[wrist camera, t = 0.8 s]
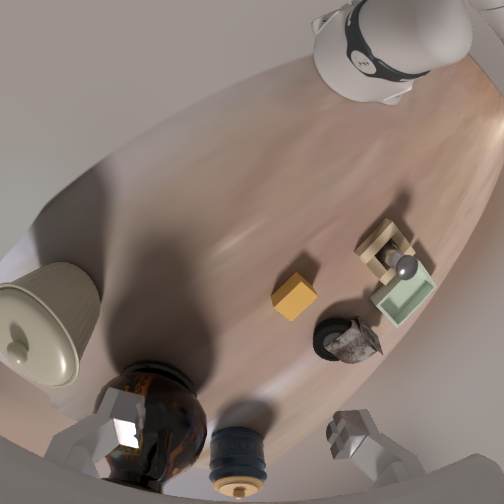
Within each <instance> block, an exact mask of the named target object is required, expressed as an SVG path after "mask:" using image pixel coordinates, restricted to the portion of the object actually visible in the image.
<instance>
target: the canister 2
mask: <svg viewBox="0 0 504 504" xmlns="http://www.w3.org/2000/svg"><path fill="white" fill-rule="evenodd" d="M263 447H264V445H263V440H262V438H261V436H260V435H259V434H258V433H257V432H255V431H253V430H250V429H247V428H227V429H223V430H220V431H218V432H217V433H215V434H214V435H213V437H212V440H211V442H210V448H211V459H210V465H209V466H210V469H211V470H212V472H211V473H210V475H209V478H210V480H211V481H212V482H213V488H214V489H215V490H216V491H219V492H221V493H222V494H224V495H227V496H233V497H234V498H235V499H243V498H244V497H245V496H249V495H252V494H255V493H256V492H258V491H260V490H261V489H262V488H263V487H264V481H265V480H266V479H267V474H266V472H265V471H264V469H265V467H266V464H265V461H264V452H263Z"/></svg>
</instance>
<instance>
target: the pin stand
mask: <svg viewBox="0 0 504 504" xmlns="http://www.w3.org/2000/svg"><path fill="white" fill-rule="evenodd" d="M388 240H390V241H391V242H392V244H393V245H394V246H395V247H396V249H398V250H399V251H401V252H402V253H404V254H405V255H411V256H413V255H414V254H415V253H416V252H415V251H414V249H413V248H412V247H411V245H410V244H409V243H408V241H407V240H406V238H405V237H404V236H403V234H402V233H401V232H400V230H399V229H398V228H397V226H396V225H395V224H394V223H393V221H391V220H389V219H387V218H385V219H384V220H383V221H382V222H381V223H380V225H379V226H378V227H377V228H376V229H375V230H374V231H373V232H372V233H371V234H370V235H369V236H368V237H367V238H366V240H365V241H364V242H363V243H362V244H361V245H360V246H359V247H358V248H357V249H356V250H355V251H354V252H355V254H356V255H357V256H358V257H359V258H360V259H361V260H362V261H363V262H364V263H365V264H366V266H367V267H368V268H369V269H370V270H371V271H372V272H373V273H374V274H375V276H376V277H377V278H378V279H379V280H380V281H381V282H382V283H383V284H384V285H386V284H387V283H388V282H389V281H390V280H391V279H392V278H393V277H394V276H395V275H396V271H395V270H394V269H392V268H391V267H390V266H389V265H387V264H386V263H385V262H384V263H383V264H381V263H380V262H379V261H378V260H377V258H376V257H375V256H374V255H375V254H376V253H377V252H378V251H379V250H380V249H381V248H382V247H383V246H384V245H385V244H386V243H387V242H388Z"/></svg>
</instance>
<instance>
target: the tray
mask: <svg viewBox="0 0 504 504" xmlns="http://www.w3.org/2000/svg"><path fill="white" fill-rule="evenodd" d="M413 257H414V256H413ZM414 258H415V257H414ZM416 259H417V258H416ZM417 261H418V270H417V272H416V274H415V275H414V277H412V278H411V279H409V280H402V279H400V278H399V277H398V276H397V274H396V275H395V276H394V277H393V278H392V279H391V280H390V281H389V282H388V283H387V284H386V285H384V284H383V285H382V286H381V287H380V288H379V289H378V290H377V291H376V292H375V293H374V294H373V295H372V296H371V297H370V300H371V301H372V302H373V303H374V304H375V305H376V306H377V307H378V309H379V310H380V311H381V312H382V313H383V314H384V315H385V316H386V317H387V318H388V319H389V320H390V321H391V322H392V323H393V325H394V326H395V327H396V328H398V327H399V326H400V325H401V324H402V323H403V322H404V321H405V320H406V319H407V318H408V317H409V316H410V315H411V314H412V313H413V312H414V311H415V310H416V309H417V308H418V307H419V306H420V305H421V304H422V303H423V302H424V301H425V300H426V299H427V297H428V296H429V295H430V294H431V293H432V292H433V291H434V290H435V289H436V288H437V286H436V284H435V283H434V281H433V280H432V278H431V277H430V275H429V274H428V272H427V271H426V269H425V268H424V266H423V265H422V263H421V262H420V261H419V260H418V259H417Z"/></svg>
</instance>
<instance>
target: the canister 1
mask: <svg viewBox="0 0 504 504" xmlns="http://www.w3.org/2000/svg"><path fill="white" fill-rule="evenodd" d="M99 299H100V297H99V295H98V291H97V289H96V286H95V285H94V283H93V281H92V280H91V278H90V277H89V276H88V275H87V273H86V272H84V271H83V270H82V269H80V268H79V267H78V266H75V265H74V264H70V263H68V262H55V263H52V264H48V265H46V266H44V267H41V268H39V269H37V270H35V271H33V272H31V273H29V274H27V275H25V276H23V277H21V278H19V279H17V280H15V281H13V282H11V283H2V284H0V350H1V351H2V353H3V354H4V356H5V357H6V358H7V360H8V361H9V362H10V363H11V364H12V365H13V366H14V367H15V368H16V369H17V370H18V371H19V372H21V373H22V374H23V375H25V376H26V377H28V378H30V379H31V380H33V381H35V382H37V383H39V384H42V385H45V386H48V387H53V388H62V387H67V386H69V385H71V384H72V383H73V382H74V381H75V380H76V378H77V376H78V374H79V369H80V360H81V357H82V355H83V353H84V350H85V348H86V346H87V344H88V341H89V339H90V337H91V335H92V332H93V330H94V328H95V325H96V323H97V320H98V317H99V312H100V300H99Z"/></svg>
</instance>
